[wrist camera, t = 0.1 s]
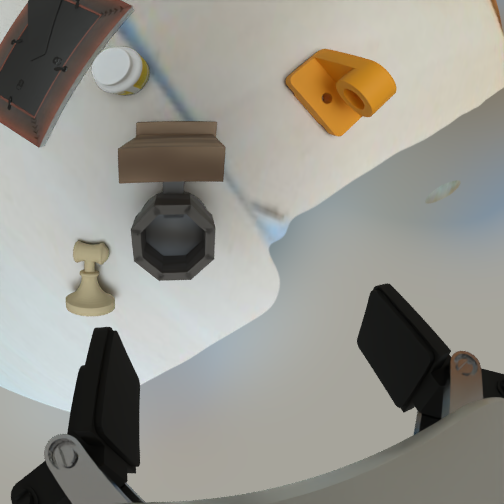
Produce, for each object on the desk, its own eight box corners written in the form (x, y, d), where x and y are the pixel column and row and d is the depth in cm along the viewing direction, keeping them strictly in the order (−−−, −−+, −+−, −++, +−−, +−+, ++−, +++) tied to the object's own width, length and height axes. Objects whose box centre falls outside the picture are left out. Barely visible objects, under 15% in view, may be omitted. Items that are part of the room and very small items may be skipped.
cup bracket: (138, 122, 32) (112, 131, 20) (215, 121, 34) (232, 130, 22) (141, 242, 40) (128, 302, 28) (209, 240, 42) (222, 299, 30)
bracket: (280, 81, 33) (319, 73, 23) (316, 51, 32) (364, 38, 22) (329, 136, 38) (377, 152, 28) (360, 107, 37) (414, 114, 27)
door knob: (56, 244, 32) (109, 248, 34) (74, 236, 39) (120, 240, 42) (59, 312, 33) (109, 318, 36) (74, 295, 41) (118, 299, 43)
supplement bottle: (140, 49, 27) (125, 30, 19) (156, 82, 30) (147, 73, 22) (103, 70, 27) (77, 60, 19) (119, 103, 30) (98, 102, 22)
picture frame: (57, -23, 17) (-21, 101, 22) (51, -28, 15) (-29, 103, 20) (135, 11, 24) (46, 145, 30) (132, 5, 22) (38, 147, 28)
